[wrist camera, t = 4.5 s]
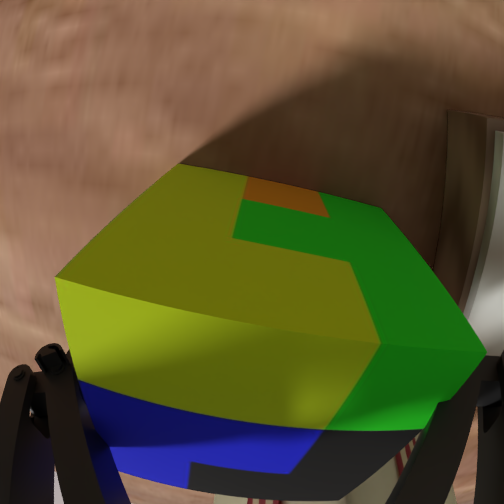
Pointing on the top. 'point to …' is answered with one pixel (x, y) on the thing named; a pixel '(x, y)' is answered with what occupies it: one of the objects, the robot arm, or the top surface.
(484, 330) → the stand
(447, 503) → the gift box
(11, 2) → the top surface
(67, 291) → the puzzle toy
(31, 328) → the top surface
